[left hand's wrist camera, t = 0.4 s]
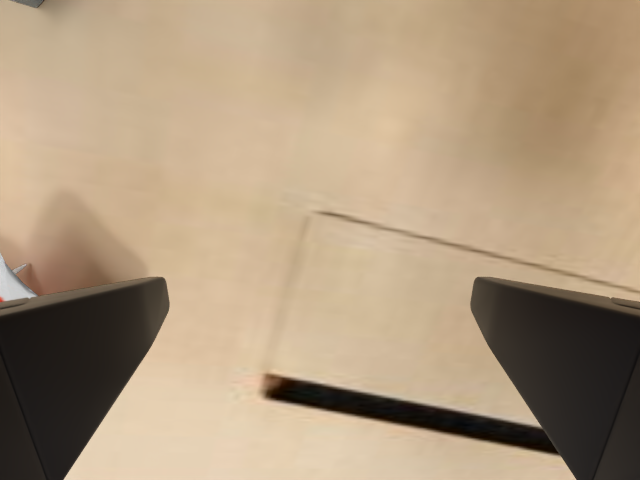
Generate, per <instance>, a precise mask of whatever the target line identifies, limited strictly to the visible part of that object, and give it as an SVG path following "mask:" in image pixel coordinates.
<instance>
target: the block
mask: <svg viewBox="0 0 640 480" xmlns="http://www.w3.org/2000/svg"><path fill="white" fill-rule="evenodd" d="M10 1H14V2H17V3H20V4H24V5H27V6H30V7H34V8H37V7H38V6H39V5H40V4H41V3H42V2H43V0H10Z"/></svg>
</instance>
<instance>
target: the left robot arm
mask: <svg viewBox="0 0 640 480" xmlns="http://www.w3.org/2000/svg"><path fill="white" fill-rule="evenodd" d="M168 311H169V297H168V291H167V284H166V281H165V279H164V278H163V277H147V278H141V279H135V280H129V281H124V282H118V283H112V284H106V285H100V286H94V287H89V288H83V289H77V290H71V291H65V292H59V293H53V294H48V295H42V296H36V297H31V298H30V299H29V298H21V299H15V300H9V301H3V302H0V480H64V478H65V477H66V475H67V473H68V472H69V470H70V469H71V467H72V466H73V464H74V463H75V461H76V460H77V458H78V457H79V455H80V454H81V452H82V451H83V449H84V448H85V446H86V445H87V443H88V442H89V440H90V439H91V437H92V436H93V434H94V433H95V431H96V430H97V428H98V427H99V425H100V424H101V422H102V420H103V419H104V417H105V416H106V414H107V413H108V411H109V410H110V408H111V407H112V405H113V404H114V402H115V401H116V399H117V398H118V396H119V395H120V393H121V392H122V390H123V389H124V387H125V386H126V384H127V383H128V381H129V380H130V378H131V377H132V375H133V374H134V372H135V370H136V369H137V367H138V366H139V364H140V363H141V361H142V360H143V358H144V357H145V355H146V354H147V352H148V351H149V349H150V347H151V346H152V344H153V342H154V340H155V338H156V336H157V334H158V332H159V330H160V328H161V326H162V324H163V322H164V320H165V318H166V315H167V313H168ZM471 311H472V313H473V315H474V318H475V320H476V322H477V324H478V326H479V328H480V330H481V332H482V334H483V336H484V338H485V340H486V342H487V344H488V346H489V347H490V349H491V351H492V352H493V354H494V355H495V357H496V358H497V360H498V361H499V363H500V364H501V366H502V367H503V369H504V370H505V372H506V374H507V375H508V377H509V378H510V380H511V381H512V383H513V384H514V386H515V387H516V389H517V390H518V392H519V393H520V395H521V396H522V398H523V399H524V401H525V402H526V404H527V405H528V407H529V408H530V410H531V411H532V413H533V414H534V416H535V417H536V419H537V420H538V422H539V423H540V425H541V426H542V428H543V430H544V431H545V433H546V434H547V436H548V437H549V439H550V440H551V442H552V443H553V445H554V446H555V448H556V449H557V451H558V452H559V454H560V455H561V457H562V458H563V460H564V461H565V463H566V464H567V466H568V467H569V469H570V470H571V472H572V473H573V475H574V477H575V478H576V480H640V302H637V301H631V300H625V299H619V298H611V299H610V298H609V297H604V296H599V295H593V294H587V293H581V292H575V291H569V290H563V289H558V288H552V287H546V286H540V285H534V284H528V283H522V282H516V281H511V280H505V279H499V278H493V277H477V278H476V279H475V281H474V284H473V290H472V297H471Z"/></svg>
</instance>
